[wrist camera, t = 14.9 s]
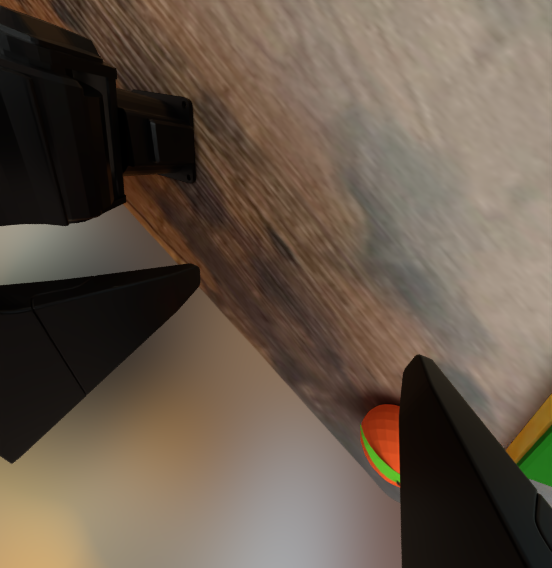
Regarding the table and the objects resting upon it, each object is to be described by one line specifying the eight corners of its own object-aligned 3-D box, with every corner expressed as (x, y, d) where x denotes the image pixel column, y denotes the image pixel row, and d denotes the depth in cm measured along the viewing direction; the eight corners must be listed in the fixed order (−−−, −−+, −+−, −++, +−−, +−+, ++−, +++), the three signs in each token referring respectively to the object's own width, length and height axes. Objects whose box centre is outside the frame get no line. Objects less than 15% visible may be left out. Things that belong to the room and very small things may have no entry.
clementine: (343, 396, 27) (333, 458, 22) (385, 375, 23) (386, 444, 17) (395, 436, 27) (398, 510, 21) (447, 422, 23) (468, 509, 17)
